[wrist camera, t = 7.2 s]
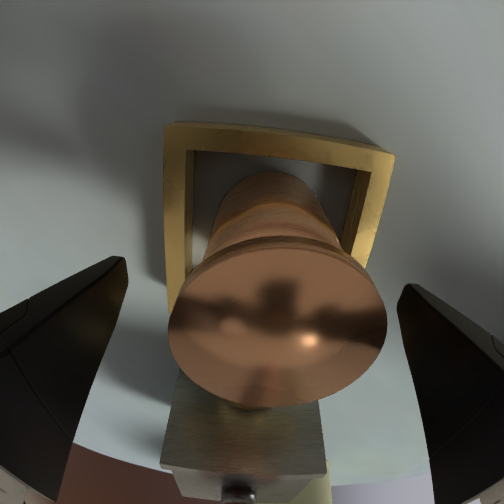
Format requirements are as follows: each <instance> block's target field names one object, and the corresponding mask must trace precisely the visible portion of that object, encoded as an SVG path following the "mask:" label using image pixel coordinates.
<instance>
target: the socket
mask: <svg viewBox="0 0 504 504" xmlns="http://www.w3.org/2000/svg"><path fill="white" fill-rule="evenodd" d="M195 150H202V151H217V152H230V153H241V154H252V155H261V156H270V157H279V158H287V159H295V160H302V161H309V162H316V163H322V164H329V165H335V166H341V167H347V168H353V169H357V172H356V176H355V181H354V186H353V190H352V195H351V199H350V204H349V208H348V213H347V217H346V221H345V225H344V229H343V233H342V237H341V241H340V245H341V247H342V249H343V251H344V252H346V253H347V254H349V255H350V256H352V257H353V258H354V259H355V260H356V261H357V262H359V263H360V264H361V265H362V266H363V268H364V269H365V267H366V264H367V261H368V258H369V255H370V251H371V248H372V245H373V241H374V238H375V235H376V231H377V228H378V224H379V221H380V217H381V213H382V210H383V206H384V202H385V198H386V194H387V190H388V186H389V182H390V178H391V174H392V169H393V165H394V160H395V156H396V155H394V154H392V153H391V152H389V151H387V150H385V149H383V148H381V147H379V146H374V145H370V144H365V143H360V142H355V141H350V140H345V139H340V138H334V137H329V136H323V135H317V134H310V133H304V132H297V131H290V130H282V129H274V128H265V127H256V126H245V125H234V124H220V123H203V122H177V121H176V122H174V123H171V124H169V125H166V126H165V128H164V166H163V201H164V241H165V263H166V280H167V294H168V307H169V313H172V310H173V307H174V304H175V301H176V298H177V296H178V293H179V290H180V288H181V286H182V285H183V283H184V281H185V280H186V278H187V277H188V276H189V274H190V273H191V272H192V214H193V180H194V157H195Z"/></svg>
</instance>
